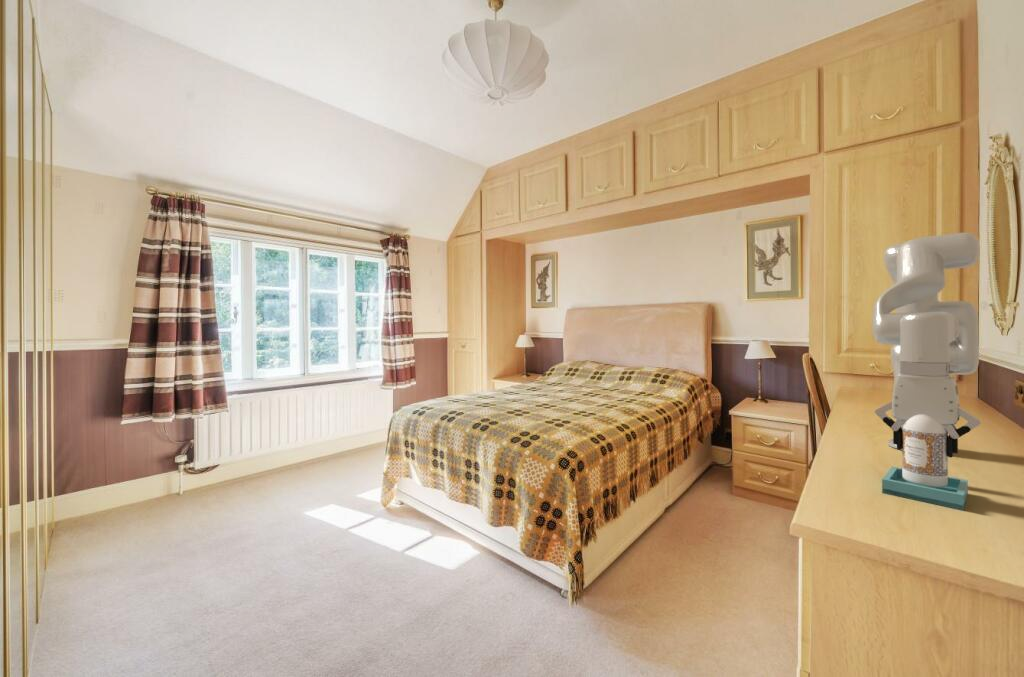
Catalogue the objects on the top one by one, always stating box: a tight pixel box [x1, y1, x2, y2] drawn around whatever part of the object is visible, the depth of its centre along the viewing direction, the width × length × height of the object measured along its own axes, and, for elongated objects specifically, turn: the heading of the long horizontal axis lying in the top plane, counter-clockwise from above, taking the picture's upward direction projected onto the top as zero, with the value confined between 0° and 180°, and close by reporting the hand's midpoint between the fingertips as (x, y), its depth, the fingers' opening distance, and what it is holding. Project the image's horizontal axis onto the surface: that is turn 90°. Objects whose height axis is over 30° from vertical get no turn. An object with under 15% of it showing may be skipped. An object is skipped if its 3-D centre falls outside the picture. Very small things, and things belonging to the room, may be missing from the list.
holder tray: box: [881, 466, 969, 512], centre depth 89 cm, size 12×12×3 cm
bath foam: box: [901, 414, 949, 488], centre depth 88 cm, size 7×7×20 cm
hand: (924, 451), depth 89 cm, fingers closed on bath foam, 7 cm apart
